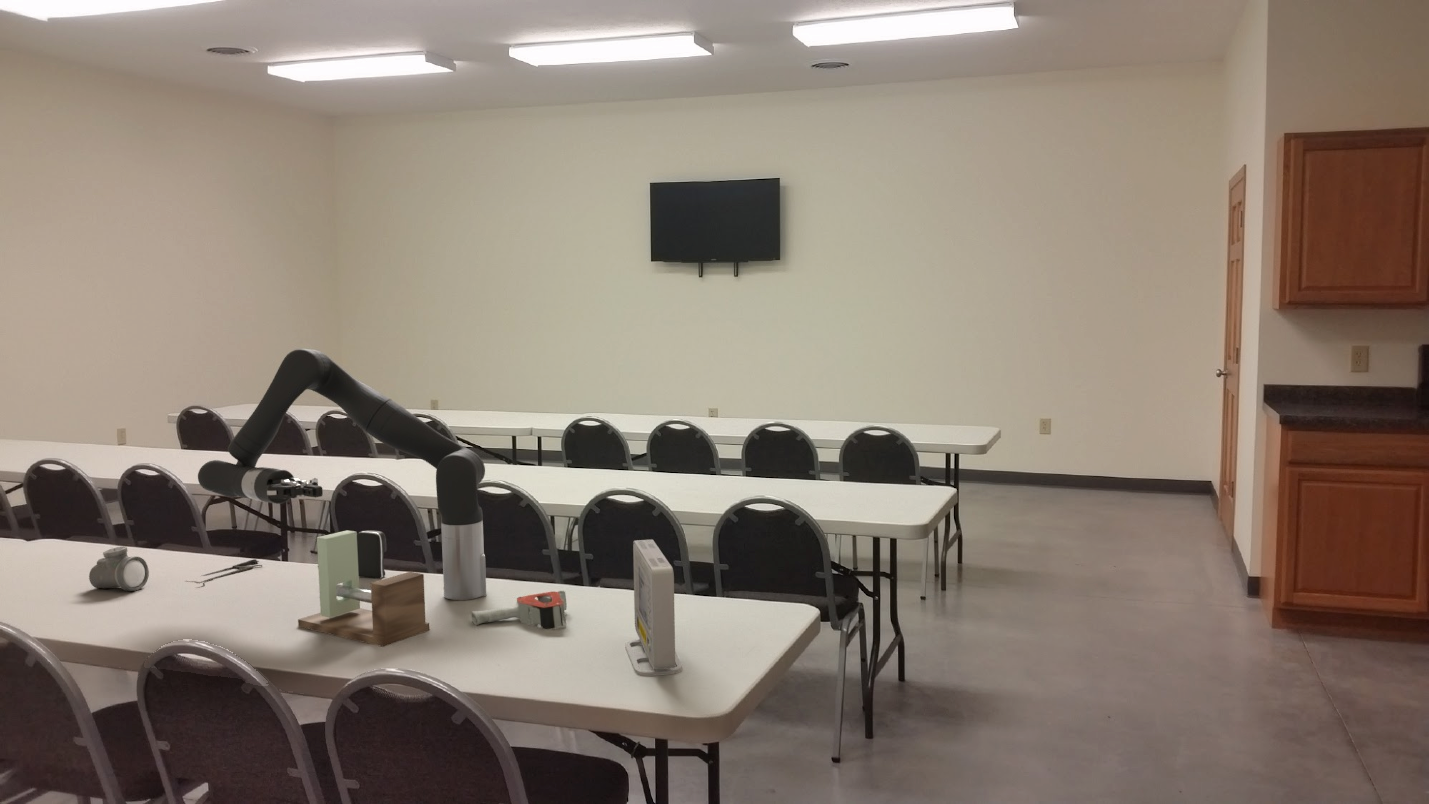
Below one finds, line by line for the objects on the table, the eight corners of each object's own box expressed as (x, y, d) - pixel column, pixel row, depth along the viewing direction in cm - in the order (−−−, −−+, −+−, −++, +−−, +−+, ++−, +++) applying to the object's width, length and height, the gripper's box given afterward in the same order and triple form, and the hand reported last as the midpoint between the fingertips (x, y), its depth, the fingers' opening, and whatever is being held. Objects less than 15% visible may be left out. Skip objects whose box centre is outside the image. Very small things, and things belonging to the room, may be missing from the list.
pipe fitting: (154, 583, 254) (144, 542, 252) (127, 595, 246) (117, 553, 245) (115, 586, 257) (105, 545, 256) (87, 597, 250) (77, 556, 248)
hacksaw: (255, 563, 276) (255, 557, 276) (281, 568, 271) (280, 562, 271) (168, 585, 256) (167, 579, 256) (193, 591, 251) (193, 584, 250)
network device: (688, 679, 187) (686, 568, 185) (639, 683, 185) (637, 572, 183) (664, 635, 212) (662, 537, 210) (621, 638, 210) (619, 539, 208)
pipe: (321, 596, 223) (321, 583, 222) (333, 593, 225) (332, 579, 225) (393, 611, 211) (392, 597, 211) (404, 608, 213) (403, 594, 213)
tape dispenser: (466, 632, 221) (537, 641, 210) (463, 607, 221) (534, 616, 210) (524, 606, 236) (593, 614, 225) (521, 583, 235) (591, 590, 224)
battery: (389, 575, 261) (388, 530, 260) (380, 579, 257) (378, 533, 256) (365, 573, 263) (363, 528, 262) (356, 577, 259) (354, 531, 258)
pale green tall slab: (320, 615, 220) (316, 537, 218) (350, 606, 226) (347, 530, 224) (330, 617, 218) (326, 538, 216) (360, 608, 224) (356, 531, 223)
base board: (298, 626, 220) (295, 570, 219) (345, 611, 230) (343, 557, 229) (383, 646, 207) (380, 586, 205) (429, 630, 217) (427, 573, 216)
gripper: (240, 472, 225) (291, 479, 216) (293, 463, 237) (344, 469, 227) (241, 507, 226) (293, 515, 217) (295, 496, 237) (346, 504, 228)
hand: (319, 491), depth 222 cm, fingers closed
